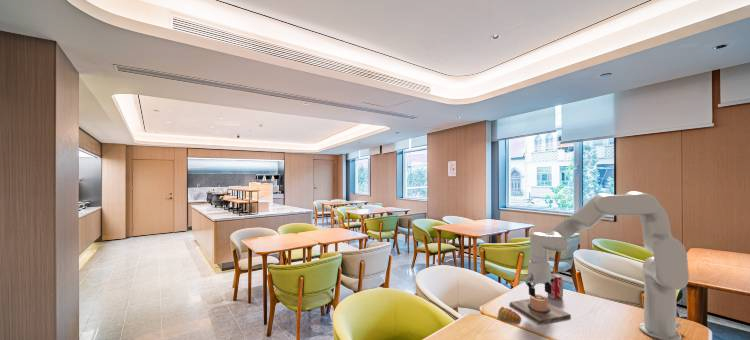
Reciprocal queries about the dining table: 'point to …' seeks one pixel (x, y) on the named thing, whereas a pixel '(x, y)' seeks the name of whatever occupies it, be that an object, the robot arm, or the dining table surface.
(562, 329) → the dining table surface
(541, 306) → the ring
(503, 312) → the brown ridged oval piece
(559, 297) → the soda can
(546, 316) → the post stand
